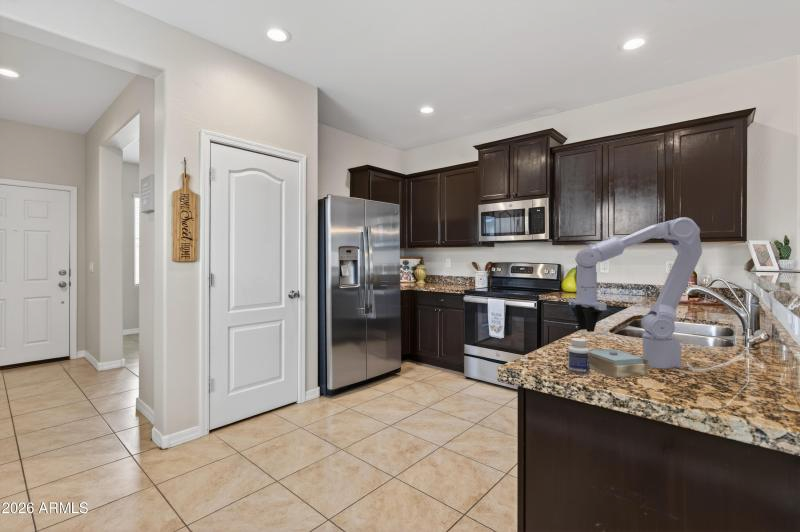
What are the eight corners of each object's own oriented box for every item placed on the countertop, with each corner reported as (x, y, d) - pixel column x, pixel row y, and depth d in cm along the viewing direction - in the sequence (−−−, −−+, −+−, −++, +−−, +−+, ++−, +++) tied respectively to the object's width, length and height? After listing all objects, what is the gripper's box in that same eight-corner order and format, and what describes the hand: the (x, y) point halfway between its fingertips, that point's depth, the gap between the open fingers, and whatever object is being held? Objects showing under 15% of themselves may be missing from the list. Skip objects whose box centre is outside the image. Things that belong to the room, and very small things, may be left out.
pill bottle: (592, 377, 104) (592, 341, 104) (570, 376, 105) (571, 341, 105) (586, 371, 109) (586, 337, 109) (566, 370, 110) (566, 337, 110)
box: (613, 365, 116) (613, 349, 116) (648, 377, 104) (648, 359, 104) (581, 367, 113) (581, 351, 113) (613, 380, 101) (613, 362, 101)
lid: (612, 354, 115) (612, 347, 115) (643, 363, 104) (643, 356, 104) (585, 355, 113) (585, 348, 113) (614, 366, 102) (614, 358, 102)
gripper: (560, 285, 125) (560, 327, 125) (591, 289, 111) (591, 335, 111) (579, 285, 127) (579, 326, 127) (612, 288, 112) (612, 334, 113)
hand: (586, 330), depth 119 cm, fingers open, 3 cm apart
